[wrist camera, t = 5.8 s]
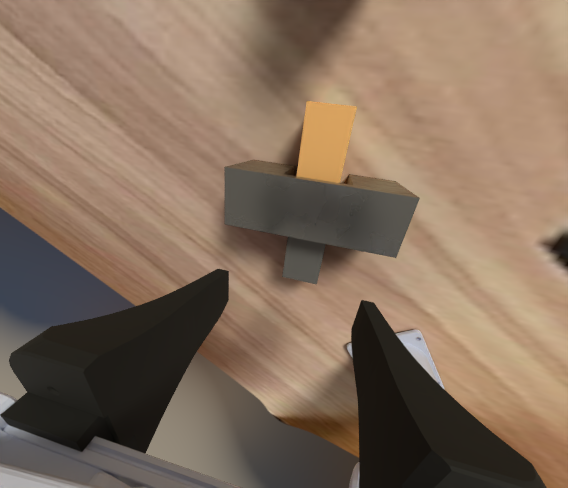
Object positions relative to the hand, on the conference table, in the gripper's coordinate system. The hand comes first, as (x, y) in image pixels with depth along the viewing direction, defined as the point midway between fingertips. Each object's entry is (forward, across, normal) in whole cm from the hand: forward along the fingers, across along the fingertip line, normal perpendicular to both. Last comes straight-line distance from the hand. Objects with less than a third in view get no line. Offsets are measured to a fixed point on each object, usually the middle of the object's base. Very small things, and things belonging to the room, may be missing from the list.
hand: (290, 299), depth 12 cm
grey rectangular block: (+10, 0, -4) cm, 11 cm away
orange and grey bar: (+10, 0, -3) cm, 11 cm away
